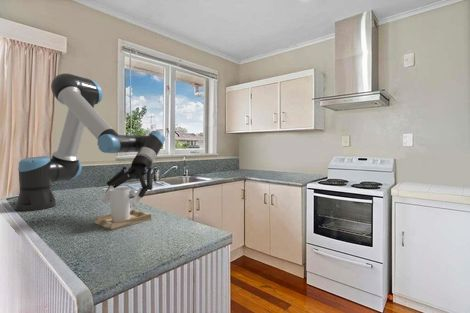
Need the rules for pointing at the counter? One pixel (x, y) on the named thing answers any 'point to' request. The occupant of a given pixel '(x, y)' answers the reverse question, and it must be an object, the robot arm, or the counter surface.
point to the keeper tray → (134, 219)
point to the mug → (121, 203)
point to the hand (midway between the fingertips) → (118, 202)
